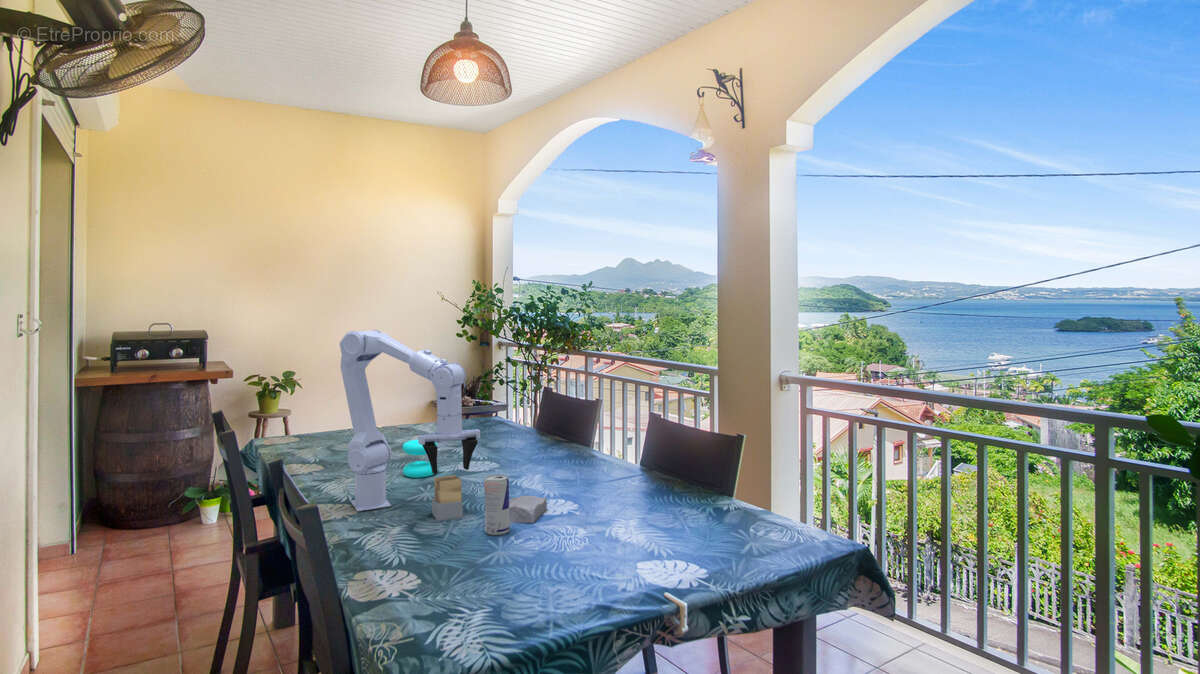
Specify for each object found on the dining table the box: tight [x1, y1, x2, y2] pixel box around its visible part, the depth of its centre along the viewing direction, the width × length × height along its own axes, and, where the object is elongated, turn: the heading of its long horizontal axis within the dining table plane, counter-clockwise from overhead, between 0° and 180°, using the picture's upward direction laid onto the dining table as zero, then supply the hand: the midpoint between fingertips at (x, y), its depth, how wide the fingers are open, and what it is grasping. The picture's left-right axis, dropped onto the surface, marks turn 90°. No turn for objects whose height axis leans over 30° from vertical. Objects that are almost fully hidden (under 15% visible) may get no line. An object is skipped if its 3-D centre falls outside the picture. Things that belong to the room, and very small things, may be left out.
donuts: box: [402, 439, 438, 479], centre depth 192 cm, size 10×10×10 cm
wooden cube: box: [433, 474, 463, 504], centre depth 152 cm, size 5×5×5 cm
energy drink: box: [483, 474, 511, 536], centre depth 141 cm, size 5×5×12 cm
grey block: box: [431, 497, 464, 522], centre depth 152 cm, size 6×6×4 cm
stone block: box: [509, 495, 548, 524], centre depth 152 cm, size 12×5×10 cm
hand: (450, 471), depth 153 cm, fingers open, 7 cm apart
